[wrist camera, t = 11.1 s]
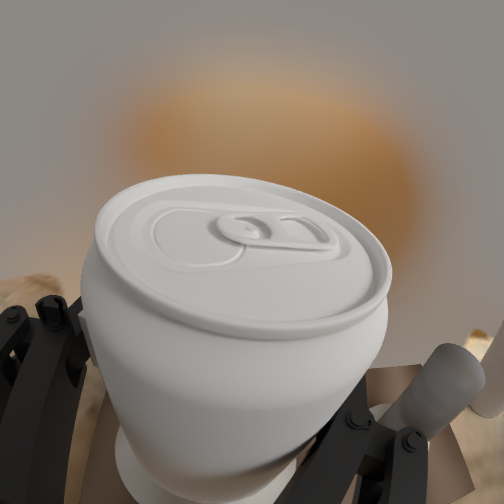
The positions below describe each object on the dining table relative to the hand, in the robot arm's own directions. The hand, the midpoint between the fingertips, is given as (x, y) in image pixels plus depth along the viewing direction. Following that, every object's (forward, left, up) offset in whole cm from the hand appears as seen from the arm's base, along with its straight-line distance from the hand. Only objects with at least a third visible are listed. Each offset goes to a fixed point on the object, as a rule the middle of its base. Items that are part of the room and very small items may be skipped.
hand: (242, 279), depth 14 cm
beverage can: (+1, +5, -7) cm, 9 cm away
